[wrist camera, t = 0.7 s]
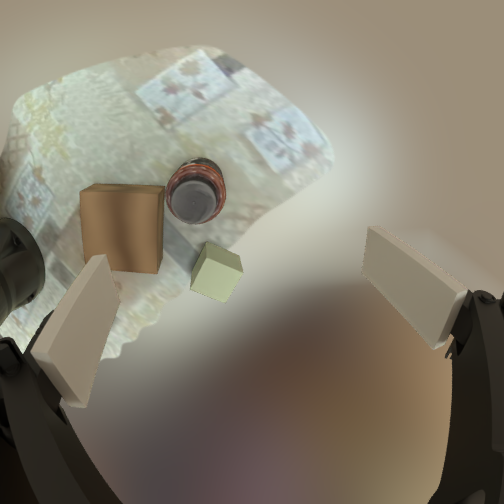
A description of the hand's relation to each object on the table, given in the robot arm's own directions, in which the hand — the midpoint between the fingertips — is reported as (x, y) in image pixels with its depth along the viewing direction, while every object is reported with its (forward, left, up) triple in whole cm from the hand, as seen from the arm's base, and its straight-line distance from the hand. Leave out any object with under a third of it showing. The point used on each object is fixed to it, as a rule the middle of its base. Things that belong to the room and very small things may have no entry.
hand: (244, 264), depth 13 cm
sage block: (0, -12, -23) cm, 26 cm away
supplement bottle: (-3, 0, -23) cm, 23 cm away
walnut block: (-12, -6, -23) cm, 27 cm away
